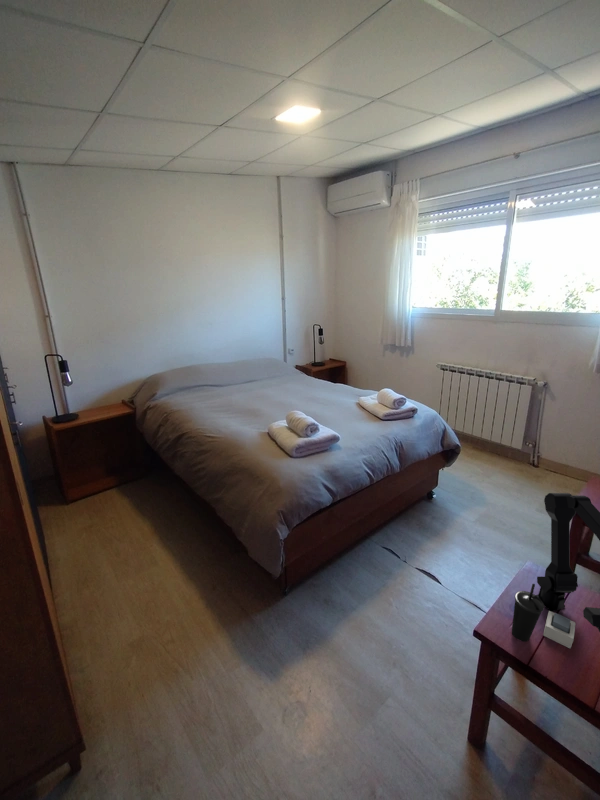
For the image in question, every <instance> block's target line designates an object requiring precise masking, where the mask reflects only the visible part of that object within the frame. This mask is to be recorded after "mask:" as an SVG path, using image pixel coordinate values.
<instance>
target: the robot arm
mask: <svg viewBox="0 0 600 800" xmlns="http://www.w3.org/2000/svg"><path fill="white" fill-rule="evenodd" d="M544 507H545V512H546V513H547V514H548V516H549V518H550V520H551V521H550V522H551V523H550V525H551V527H550V529H551V530H550V533H551V536H550V538H551V539H550V541H551V542H550V554H551V555H550V561H551V562H550V563H549V564H548V566H547V567H546V568H545V571H544V572H545V573H544V576H537V577H536V583H537V584H538V586H539V591H538V594H535V595H536V596H537V597H539V598H540V599H541V601H542V602H543V604H544V608H546V609H547V610H548V612H549V611H551V612H555V611H559V610H562V609H565V607H566V605H565V602H566V598H565V597H566V594H572V593H574V592H575V591H577V588H578V587H579V585H578V574H577V573H576V572H575V573H574V571H573V569H572V568H571V565H570V560H571V559H570V556H571V554H570V550H571V549H570V546H571V545H570V540H571V539H570V533H571V530H570V525H571V523H570V522H571V521H572V519H573V518H574V517H575V515H576V514H577V515H578V516H579V517H580V519H581V520H582V521H583V522H584V524H585V525H586V526H587V527H588V528H589V529H590V531H591V532H592V533H593V534H594V535H595V536H596V538H597V539H598V541H600V511H599V510H598V508H596V506H595V505H594V504H593V503H592V501H591V498H590V497H589V496H586V495H573V494H572V493H569V492H563V493H562V492H549V493H547V494H546V495H545V496H544ZM582 613H583V618H584V619H585V620H587V622H588V623H590V625H592V626H593V627H594V628H597V631H599V633H600V608H599V607H589V606H585V608H583V611H582Z"/></svg>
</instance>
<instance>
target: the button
mask: <svg viewBox="0 0 600 800" xmlns="http://www.w3.org/2000/svg"><path fill="white" fill-rule="evenodd" d="M554 613H555V614H554V618H553V622H552V626H553V627H555V628H557V629H560V630H562V631H564V632H566V633H568V631H569V627H570V620H571V619H569V618H567V617H566V616H563V615H561V614H560V613H556V612H554Z"/></svg>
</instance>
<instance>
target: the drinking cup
mask: <svg viewBox="0 0 600 800" xmlns="http://www.w3.org/2000/svg"><path fill="white" fill-rule="evenodd" d="M535 588H536V584H535V583H532V584H531V588H530V592H529V591H526V590H519V591H517V592H515V594H514V607H513V616H512V625H511V626H512V627H511V633H512V636H513V637H514V638H515V639H517V640H518V641H520V642H524V643H526V642H528V641H529V640H530V638H531V637H532V634H533V632H534V629H535V628H536V626H537V623H538V621H539V618H540V616H541V614H542V613H543V611H544V610H545V606H544V604H543V602H542V601H541V599H540V598H539V597H537V596H536V595H537V594H534V591H535Z"/></svg>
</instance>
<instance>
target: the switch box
mask: <svg viewBox="0 0 600 800" xmlns="http://www.w3.org/2000/svg"><path fill="white" fill-rule="evenodd" d="M555 613H556V612H554V611H552V612H551V611H549V610H548V613H547V617H546V620H545V625H544V630H543V634H542V636H544V637H545V638H548V639H550V640H551V641H553V642H556V643H557V644H560V645H562V646H564V647H566V648H568V649H572V645H573V643H574V640H575V639H574V638H575V629H576V622H575V621H573V620H571V619H570V627H569V631H568V633H566V632H564V631H562V630H560V629H557V628H555V627H553V626H552V622H553V618H554V614H555Z"/></svg>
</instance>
